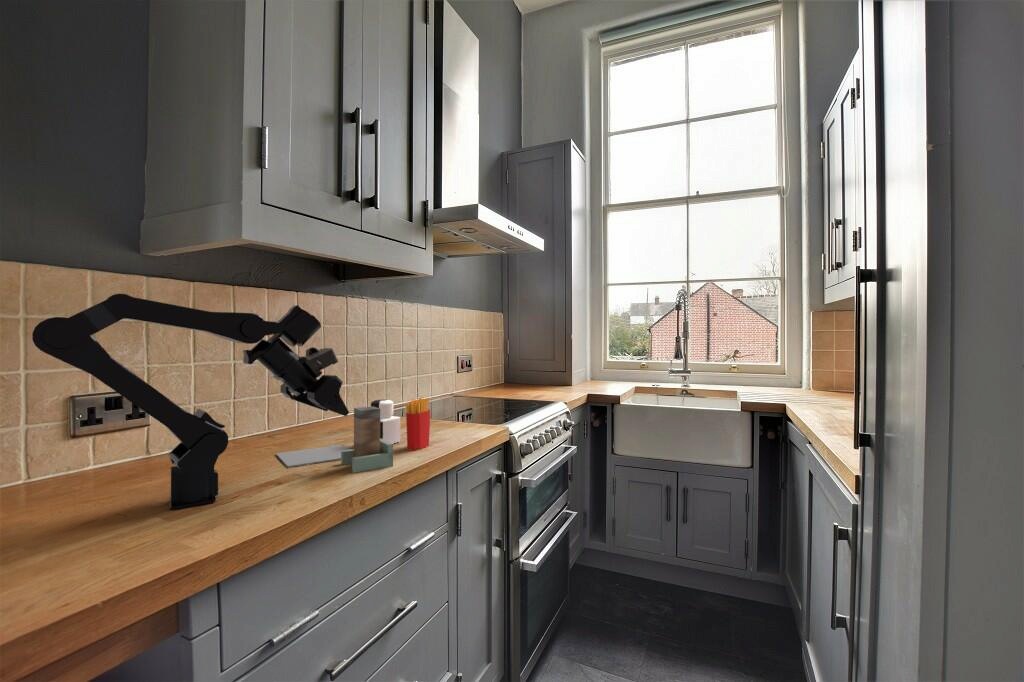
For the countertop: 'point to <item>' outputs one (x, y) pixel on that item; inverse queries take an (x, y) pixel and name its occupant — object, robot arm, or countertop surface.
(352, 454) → the holder
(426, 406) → the french fries
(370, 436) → the brown rectangular block
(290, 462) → the mat
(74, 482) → the countertop surface
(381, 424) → the medicine bottle
